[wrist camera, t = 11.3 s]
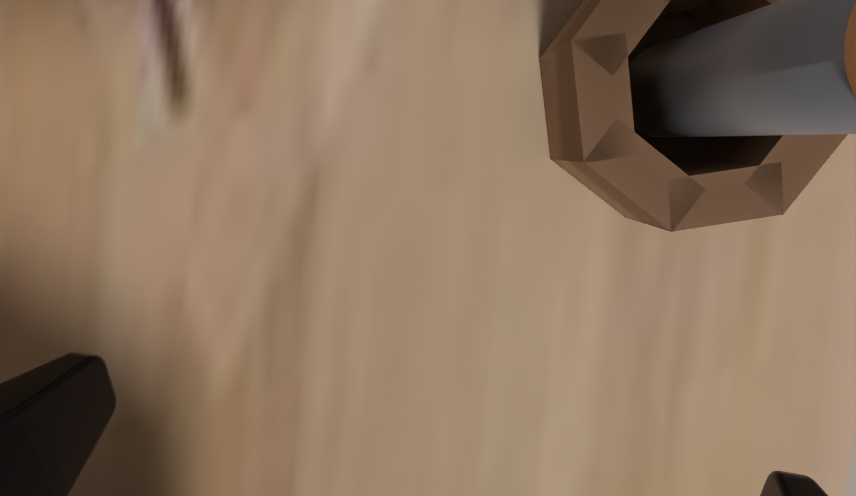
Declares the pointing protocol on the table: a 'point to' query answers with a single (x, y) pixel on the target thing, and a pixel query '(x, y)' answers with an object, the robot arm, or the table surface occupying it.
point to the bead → (635, 158)
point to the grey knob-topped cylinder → (753, 75)
